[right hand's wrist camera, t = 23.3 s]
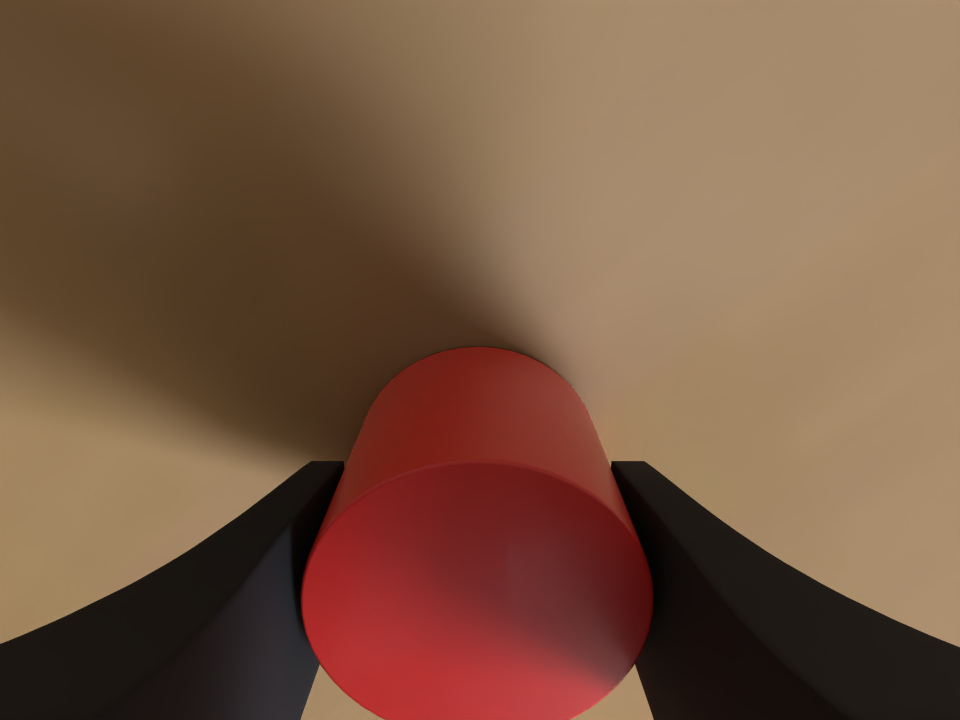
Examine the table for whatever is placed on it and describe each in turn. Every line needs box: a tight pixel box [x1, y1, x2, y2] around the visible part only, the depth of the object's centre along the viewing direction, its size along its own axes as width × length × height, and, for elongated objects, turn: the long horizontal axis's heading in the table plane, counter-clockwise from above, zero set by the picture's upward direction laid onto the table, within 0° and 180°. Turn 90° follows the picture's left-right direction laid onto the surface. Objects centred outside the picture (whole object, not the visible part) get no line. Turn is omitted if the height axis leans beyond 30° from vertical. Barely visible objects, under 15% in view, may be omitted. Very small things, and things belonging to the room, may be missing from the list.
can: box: [300, 347, 654, 720], centre depth 10 cm, size 5×5×4 cm
